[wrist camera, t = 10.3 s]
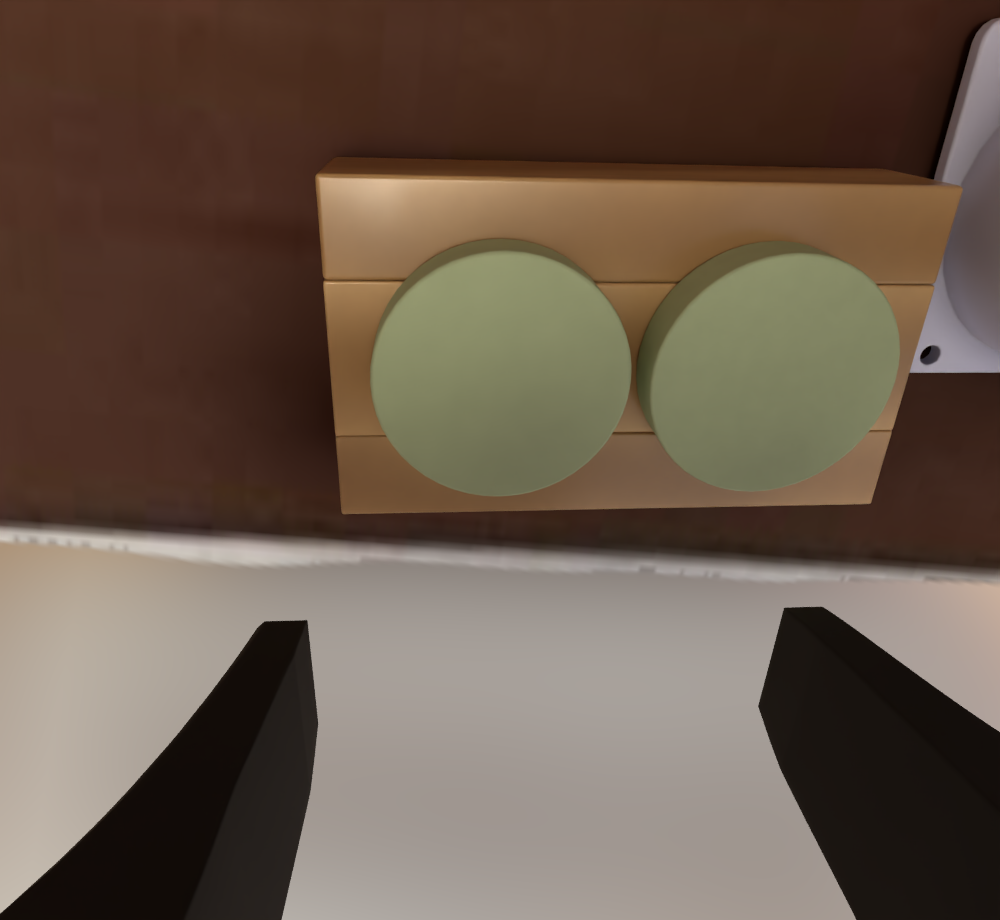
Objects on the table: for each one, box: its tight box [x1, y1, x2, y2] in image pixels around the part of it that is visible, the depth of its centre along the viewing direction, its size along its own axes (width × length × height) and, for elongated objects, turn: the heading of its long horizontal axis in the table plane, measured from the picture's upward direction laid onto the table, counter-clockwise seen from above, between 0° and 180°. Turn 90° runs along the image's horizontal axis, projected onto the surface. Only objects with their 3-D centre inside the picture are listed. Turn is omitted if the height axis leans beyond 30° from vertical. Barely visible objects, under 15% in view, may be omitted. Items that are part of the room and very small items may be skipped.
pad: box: [370, 239, 632, 496], centre depth 17 cm, size 5×5×4 cm
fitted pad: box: [636, 241, 900, 492], centre depth 17 cm, size 5×5×4 cm
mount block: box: [315, 157, 963, 514], centre depth 17 cm, size 7×13×3 cm, turn 88°
